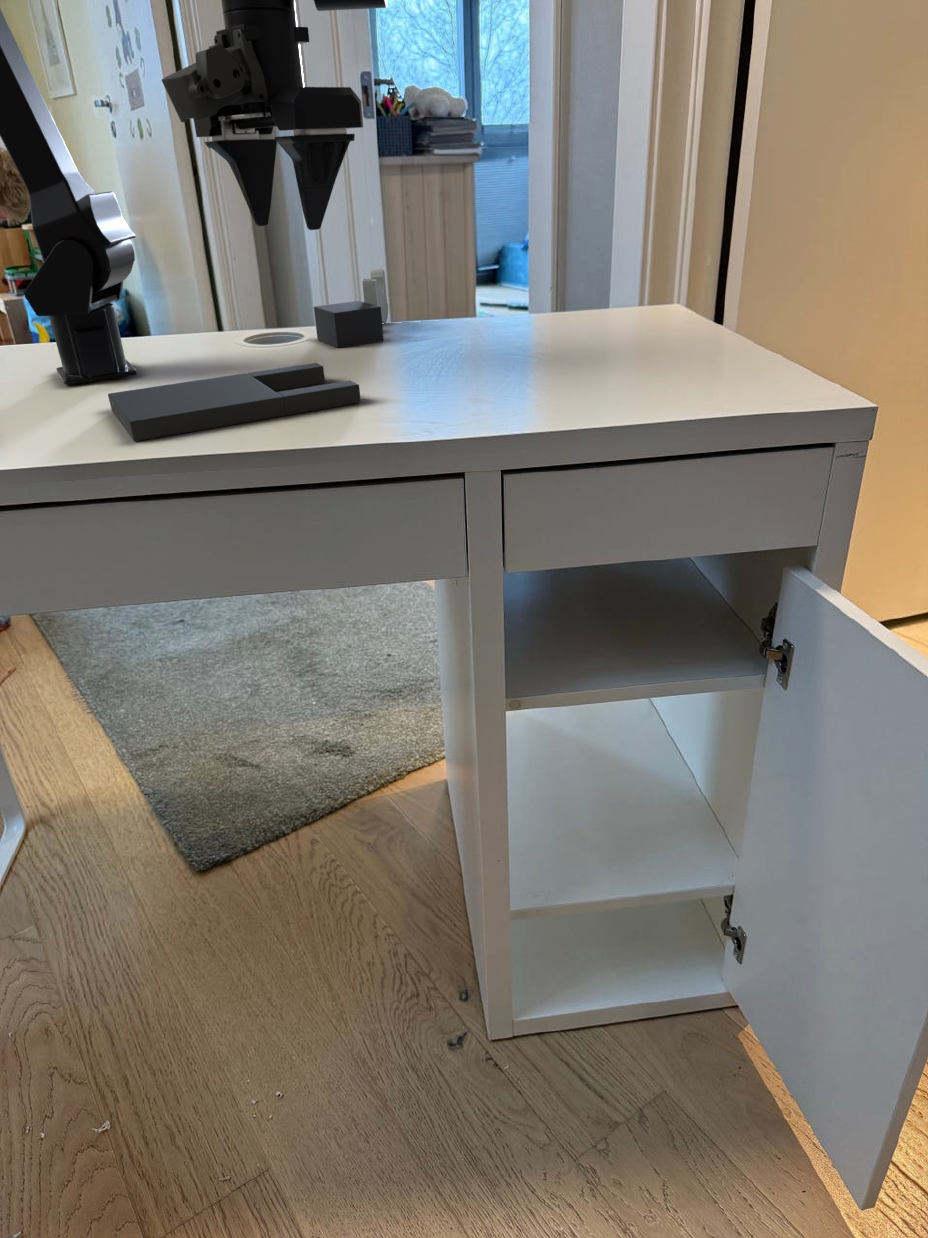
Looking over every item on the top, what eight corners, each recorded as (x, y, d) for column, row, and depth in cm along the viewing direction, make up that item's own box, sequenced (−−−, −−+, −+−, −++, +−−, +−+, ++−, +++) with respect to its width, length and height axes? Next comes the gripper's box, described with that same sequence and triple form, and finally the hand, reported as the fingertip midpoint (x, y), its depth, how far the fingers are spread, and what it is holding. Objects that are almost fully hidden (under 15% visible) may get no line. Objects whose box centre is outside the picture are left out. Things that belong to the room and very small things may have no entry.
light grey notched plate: (367, 334, 96) (378, 317, 105) (379, 334, 96) (389, 316, 105) (362, 280, 93) (373, 266, 102) (374, 279, 93) (385, 266, 102)
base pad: (111, 411, 71) (107, 393, 70) (318, 379, 78) (316, 362, 77) (134, 441, 63) (129, 421, 62) (361, 402, 70) (359, 384, 69)
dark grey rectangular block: (317, 340, 94) (313, 306, 92) (362, 333, 96) (359, 300, 95) (337, 347, 90) (334, 312, 88) (383, 340, 92) (381, 306, 90)
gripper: (118, 23, 71) (158, 231, 78) (219, -11, 58) (255, 241, 65) (240, 29, 77) (267, 221, 84) (357, -1, 64) (375, 228, 72)
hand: (287, 227), depth 76 cm, fingers open, 9 cm apart
